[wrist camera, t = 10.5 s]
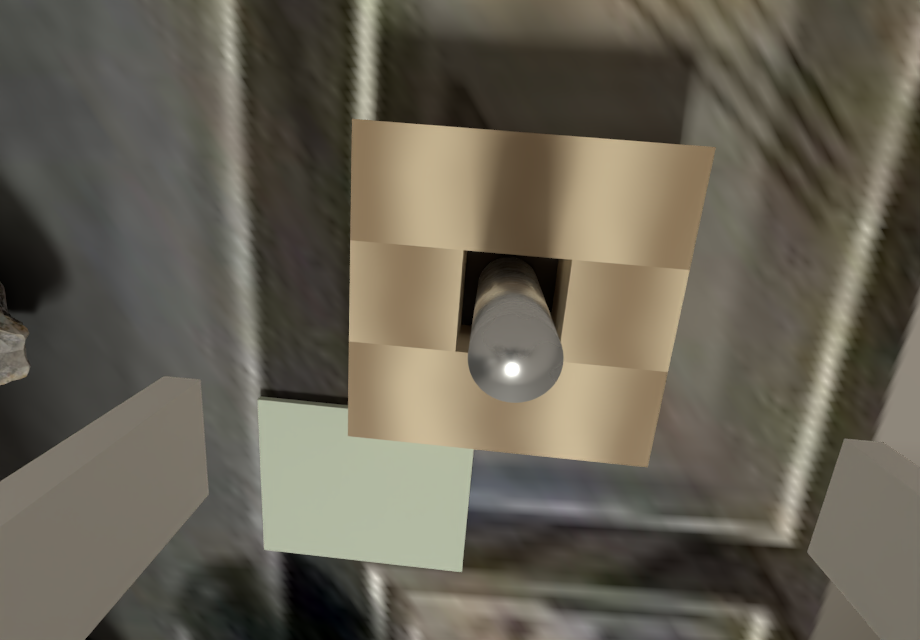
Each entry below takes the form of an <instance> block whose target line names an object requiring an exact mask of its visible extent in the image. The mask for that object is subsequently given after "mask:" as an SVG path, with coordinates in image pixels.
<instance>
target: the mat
mask: <svg viewBox="0 0 920 640" xmlns="http://www.w3.org/2000/svg"><path fill="white" fill-rule="evenodd" d="M258 421H259V444H260V466H261V489H262V512H263V535H264V550H271V551H280V552H289V553H298V554H307V555H315V556H324V557H333V558H342V559H351V560H359V561H368V562H377V563H386V564H395V565H403V566H412V567H421V568H430V569H439V570H447V571H456V572H462V565H463V554H464V544H465V534H466V523H467V513H468V503H469V492H470V482H471V471H472V461H473V451H474V449H467V448H458V447H448V446H438V445H429V444H419V443H409V442H400V441H390V440H380V439H371V438H361V437H351V436H348V405H340V404H330V403H321V402H311V401H301V400H291V399H281V398H271V397H260V398H259V399H258Z"/></svg>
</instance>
